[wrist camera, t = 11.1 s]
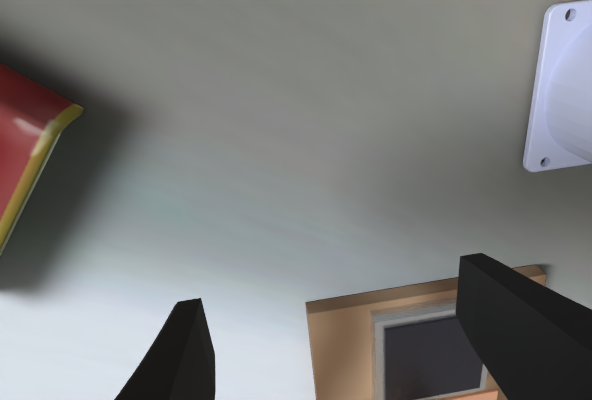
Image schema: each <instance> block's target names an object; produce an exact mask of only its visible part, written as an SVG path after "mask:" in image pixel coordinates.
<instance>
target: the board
mask: <svg viewBox="0 0 592 400" xmlns="http://www.w3.org/2000/svg"><path fill="white" fill-rule="evenodd" d="M513 270H515V271H517V272H519V273H521V274H523V275H524V276H526V277H528V278H530V279H532V280H534V281H535V282H537V283H539V284H541V285H543V286H544V285H545V280H546V275H547V274H546V273H544V272H543V271H542V270H541V269H540V268H539V267H538V266H537V265H531V266H525V267H519V268H513ZM457 288H458V278H452V279H446V280H440V281H434V282H428V283H422V284H416V285H410V286H403V287H397V288H391V289H385V290H379V291H373V292H367V293H361V294H355V295H349V296H343V297H337V298H331V299H325V300H318V301H312V302H306V312H307V321H308V330H309V339H310V348H311V357H312V366H313V375H314V384H315V393H316V400H373V397H372V372H371V334H370V311H372V310H378V309H384V308H390V307H396V306H402V305H408V304H414V303H420V302H426V301H432V300H438V299H444V298H450V297H456V296H457ZM491 389H497V390H498V395H497V400H508V399H507V398H506V396H505V395H504V393H503V392H502V390H501V389H500V388H499V386H498V385H497V383H496V382H495V380H494V379H493V377H492V376H491V374H490V373H489V371H488V372H487V379H486V386H485V389H484V390H478V391H473V392H468V393H462V394H457V395H451V396H446V397H441V398H435V399H430V400H437V399H443V398H448V397H454V396H459V395H464V394H470V393H475V392H481V391H486V390H491Z"/></svg>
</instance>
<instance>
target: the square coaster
mask: <svg viewBox="0 0 592 400" xmlns="http://www.w3.org/2000/svg"><path fill="white" fill-rule="evenodd" d="M497 395H498V390H497V389H491V390H486V391H481V392H475V393H470V394H464V395H459V396H454V397H448V398H443V399H437V400H497Z"/></svg>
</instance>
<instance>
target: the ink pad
mask: <svg viewBox="0 0 592 400" xmlns="http://www.w3.org/2000/svg"><path fill="white" fill-rule="evenodd" d="M456 300H457V296H456V297H450V298H444V299H438V300H432V301H426V302H420V303H414V304H408V305H402V306H396V307H390V308H384V309H378V310H372V311H370V334H371V372H372V397H373V400H430V399H435V398H441V397H446V396H451V395H457V394H462V393H468V392H473V391H478V390H484V389H485V386H486V379H487V372H488V370H487V368H486V367H485V365H484V364H483V362H482V361H481V359H480V358H479V356H478V355H477V353H476V352H475V350H474V349H473V347H472V346H471V344H470V342H469V340H468V338H467V336H466V334H465V332H464V330H463V328H462V326H461V324H460V322H459V320H458V318H457V316H456V314H455V311H456Z"/></svg>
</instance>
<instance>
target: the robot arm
mask: <svg viewBox="0 0 592 400" xmlns="http://www.w3.org/2000/svg"><path fill="white" fill-rule="evenodd" d="M568 10H570V16H569V18H568V19H567V20H566V19H565V15H566V12H567V11H568ZM543 158H545V161H544V162H543V163H542V164H540V163H541V160H542V159H543ZM586 164H592V0H582V1H574V2H565V3H557V4H554V5H552V6H551V7H549V8H548V10H547V11H546V13H545V17H544V23H543V29H542V36H541V43H540V50H539V56H538V63H537V70H536V77H535V83H534V90H533V97H532V104H531V110H530V117H529V124H528V131H527V137H526V144H525V151H524V158H523V167H524V168H525V169H526V170H528V171H530V172H539V171H545V170H552V169H559V168H566V167H572V166H579V165H586ZM455 314H456V316H457V318H458V320H459V322H460V324H461V326H462V328H463V330H464V332H465V334H466V336H467V338H468V340H469V342H470V344H471V346H472V347H473V349H474V350H475V352H476V353H477V355H478V356H479V358H480V359H481V361H482V362H483V364H484V365H485V367H486V368H487V370H488V371H489V373H490V374H491V376H492V377H493V379H494V380H495V382H496V383H497V385H498V386H499V388H500V389H501V390H502V392H503V393H504V395H505V396H506V398H507V399H508V400H592V310H591V309H589V308H587V307H585V306H583V305H581V304H579V303H576V302H574V301H572V300H570V299H568V298H566V297H564V296H562V295H560V294H558V293H556V292H554V291H553V290H551V289H549V288H547V287H545V286H543V285H541V284H539V283H537V282H535V281H534V280H532V279H530V278H528V277H526V276H524V275H523V274H521V273H519V272H517V271H515V270H513V269H511V268H510V267H508V266H506V265H504V264H502V263H500V262H499V261H497V260H495V259H493V258H491V257H489V256H487V255H485V254H483V253H478V254H472V255H465V256H460V266H459V277H458V288H457V300H456V311H455ZM114 400H215V353H214V349H213V345H212V341H211V337H210V333H209V329H208V325H207V321H206V317H205V313H204V309H203V305H202V300H201V298H198V299H192V300H186V301H180V302H177V304H176V305H175V306H174V308H173V310H172V312H171V313H170V315H169V317H168V319H167V320H166V322H165V324H164V326H163V327H162V329H161V331H160V332H159V334H158V336H157V337H156V339H155V341H154V342H153V344H152V346H151V347H150V349H149V350H148V352H147V353H146V355H145V357H144V358H143V360H142V361H141V363H140V364H139V366H138V367H137V369H136V370H135V372H134V373H133V374H132V376H131V377H130V379H129V380H128V381H127V383H126V384H125V386H124V387H123V389H122V390H121V391H120V393H119V394H118V395H117V397H116V398H115V399H114Z"/></svg>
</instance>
